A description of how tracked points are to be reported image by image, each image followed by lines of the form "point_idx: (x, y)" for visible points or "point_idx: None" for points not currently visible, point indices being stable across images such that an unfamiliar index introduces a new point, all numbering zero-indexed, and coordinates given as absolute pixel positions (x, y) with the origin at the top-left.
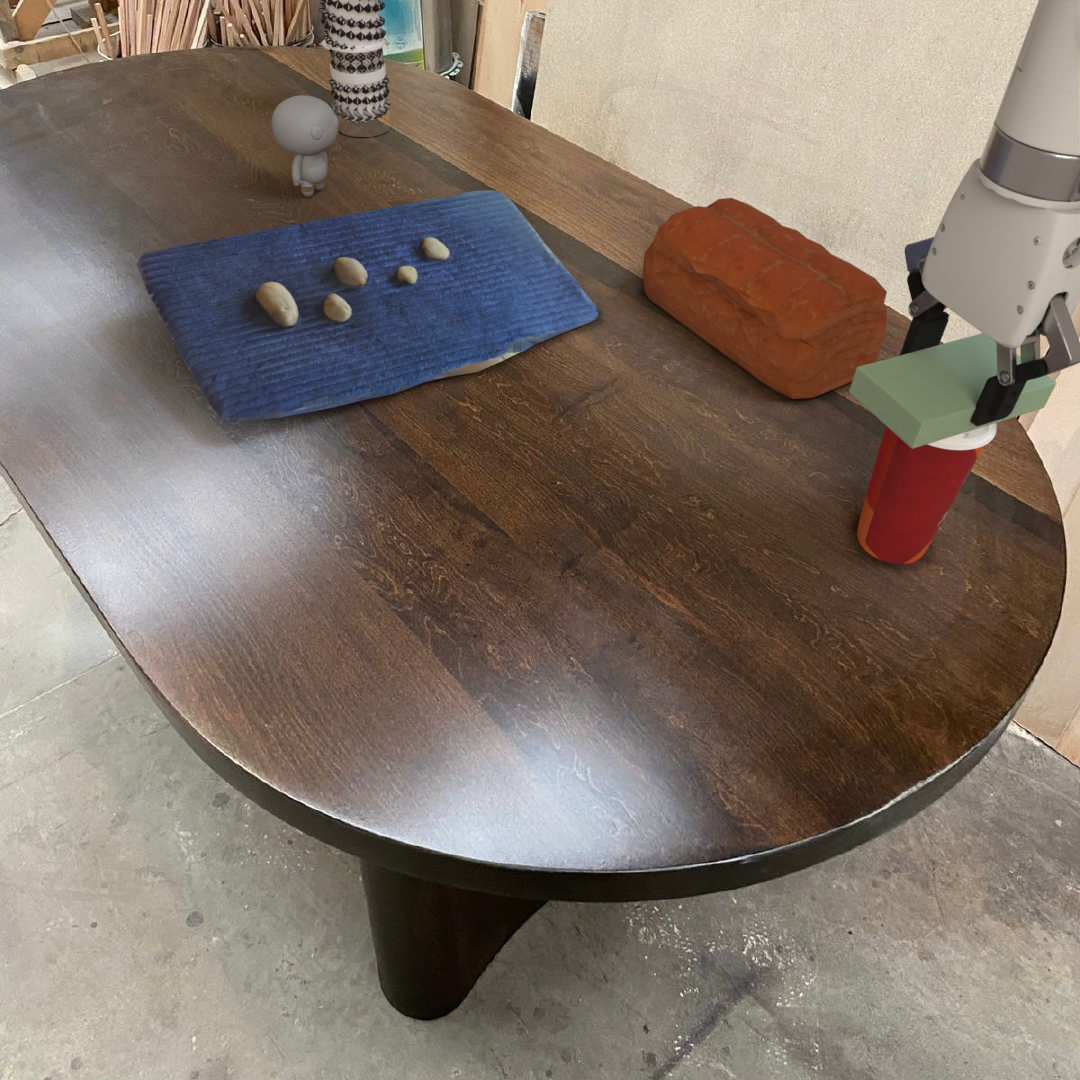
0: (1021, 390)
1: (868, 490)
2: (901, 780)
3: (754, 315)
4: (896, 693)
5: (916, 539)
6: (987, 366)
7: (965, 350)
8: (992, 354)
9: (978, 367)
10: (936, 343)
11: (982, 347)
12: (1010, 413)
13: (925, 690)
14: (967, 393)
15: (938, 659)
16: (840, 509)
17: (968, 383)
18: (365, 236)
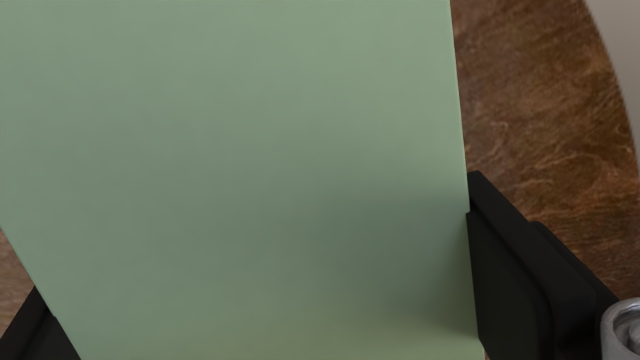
0: (602, 288)
1: None
2: (633, 237)
3: None
4: (537, 197)
5: None
6: (241, 187)
7: (97, 223)
8: (136, 112)
9: (243, 227)
10: (59, 340)
11: (64, 129)
12: (536, 221)
13: (547, 161)
14: (406, 337)
15: (512, 120)
16: None
17: (349, 311)
18: None
